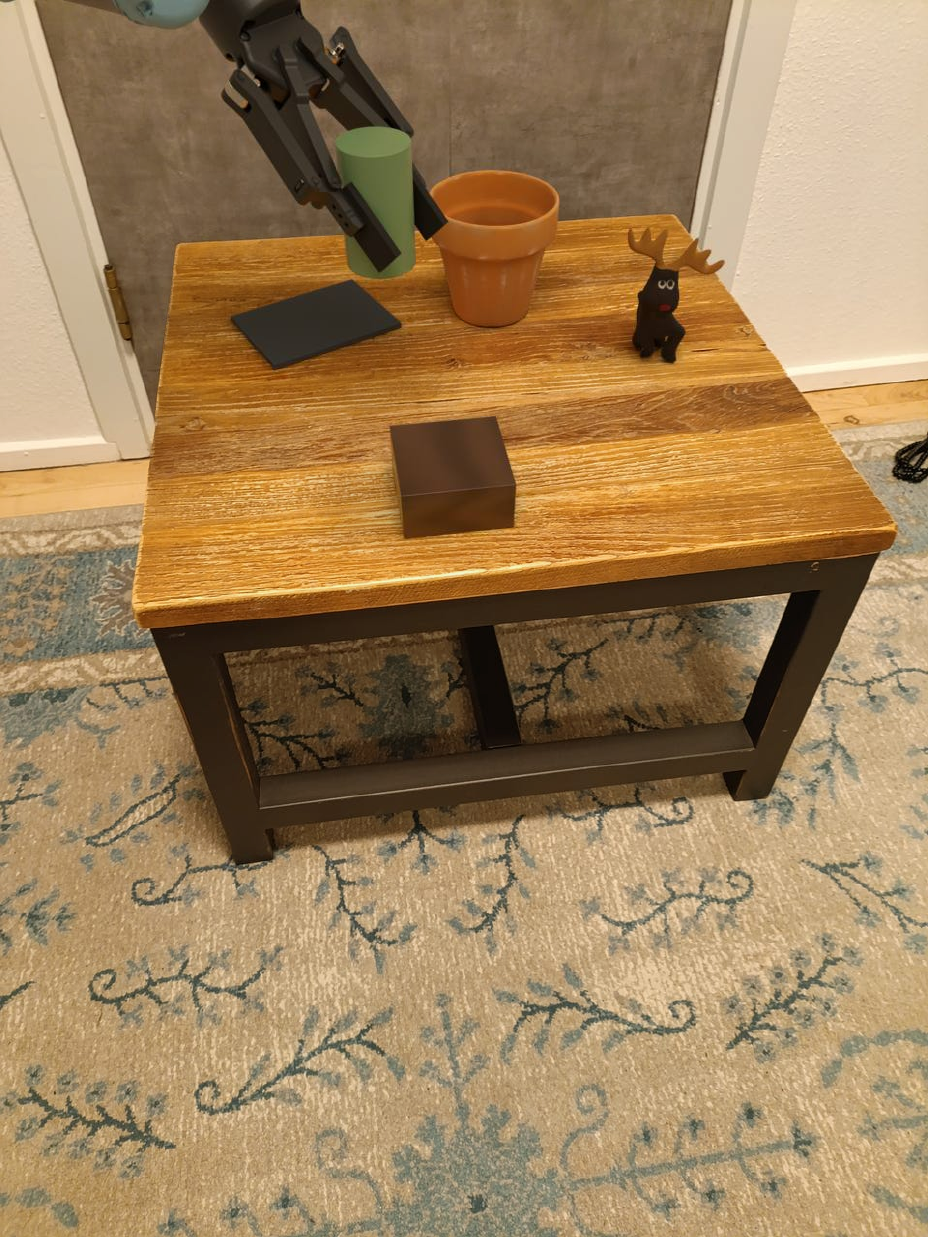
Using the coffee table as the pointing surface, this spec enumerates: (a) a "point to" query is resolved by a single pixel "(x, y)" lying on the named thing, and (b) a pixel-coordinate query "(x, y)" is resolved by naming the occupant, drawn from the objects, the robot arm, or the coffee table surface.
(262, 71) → the robot arm
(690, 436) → the coffee table surface
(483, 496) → the dark brown square block
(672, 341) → the figurine
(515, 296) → the flower pot
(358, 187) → the green canister
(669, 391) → the coffee table surface
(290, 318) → the slate mat
